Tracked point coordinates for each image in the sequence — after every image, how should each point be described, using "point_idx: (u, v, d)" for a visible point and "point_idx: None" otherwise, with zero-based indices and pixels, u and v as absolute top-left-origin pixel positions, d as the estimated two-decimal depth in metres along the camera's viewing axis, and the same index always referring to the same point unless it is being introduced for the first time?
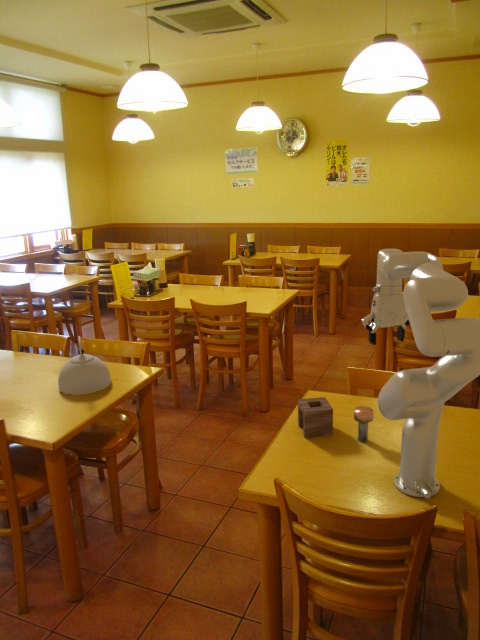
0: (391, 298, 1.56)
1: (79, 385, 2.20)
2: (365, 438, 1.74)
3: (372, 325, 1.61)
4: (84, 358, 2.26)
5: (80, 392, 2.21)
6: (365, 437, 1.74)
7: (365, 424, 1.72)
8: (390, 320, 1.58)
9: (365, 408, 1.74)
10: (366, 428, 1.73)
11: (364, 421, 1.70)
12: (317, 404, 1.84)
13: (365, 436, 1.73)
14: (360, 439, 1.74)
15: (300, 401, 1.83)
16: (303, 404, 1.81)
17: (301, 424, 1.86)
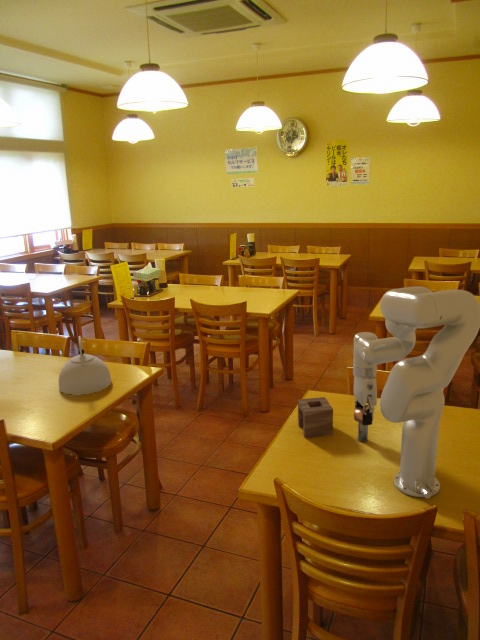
0: None
1: (79, 385, 2.20)
2: (365, 438, 1.74)
3: None
4: (84, 358, 2.26)
5: (80, 392, 2.21)
6: (365, 437, 1.74)
7: None
8: None
9: None
10: (366, 428, 1.73)
11: None
12: (317, 404, 1.84)
13: (365, 436, 1.73)
14: (360, 439, 1.74)
15: (300, 401, 1.83)
16: (303, 404, 1.81)
17: (301, 424, 1.86)
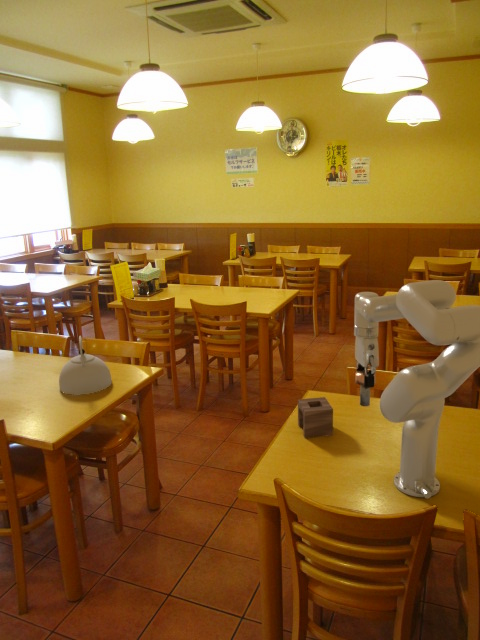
0: None
1: (79, 385, 2.20)
2: (367, 402, 1.70)
3: None
4: (85, 358, 2.26)
5: (81, 392, 2.21)
6: (367, 401, 1.69)
7: None
8: None
9: None
10: (368, 392, 1.69)
11: None
12: (317, 404, 1.84)
13: (367, 400, 1.69)
14: (362, 403, 1.70)
15: (300, 401, 1.83)
16: (303, 404, 1.81)
17: (301, 424, 1.86)
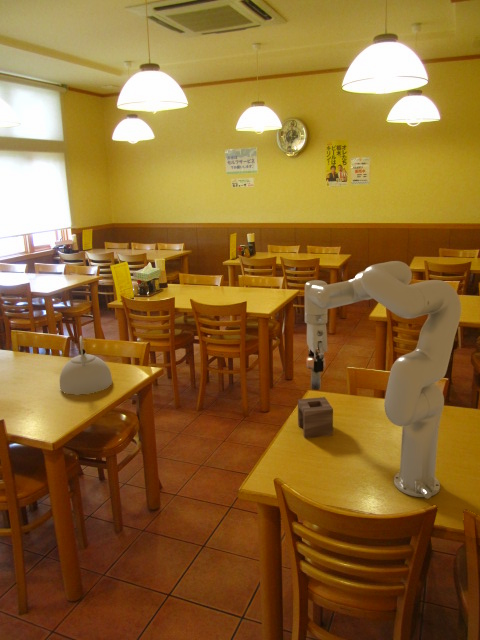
0: None
1: (80, 385, 2.20)
2: (318, 386, 1.77)
3: None
4: (85, 358, 2.26)
5: (81, 392, 2.21)
6: (317, 385, 1.77)
7: (317, 372, 1.76)
8: None
9: None
10: (318, 376, 1.77)
11: None
12: (317, 404, 1.84)
13: (317, 383, 1.77)
14: (313, 387, 1.78)
15: (300, 401, 1.83)
16: (303, 404, 1.81)
17: (301, 424, 1.86)
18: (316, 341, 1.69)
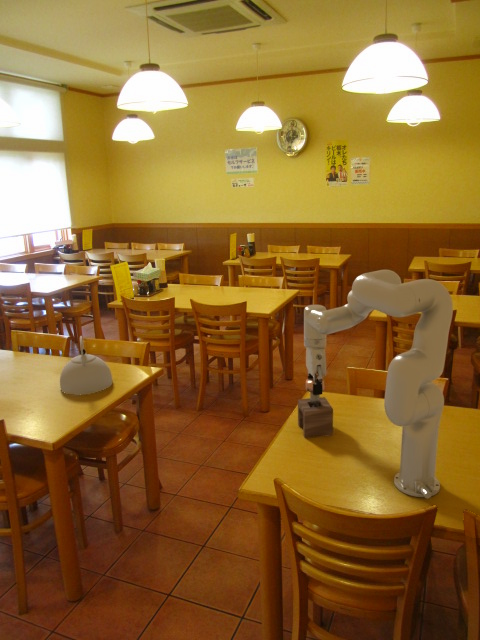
0: None
1: (80, 385, 2.20)
2: None
3: None
4: (86, 358, 2.26)
5: (81, 392, 2.21)
6: None
7: None
8: None
9: None
10: (317, 398, 1.79)
11: None
12: None
13: (316, 406, 1.80)
14: None
15: (300, 401, 1.83)
16: (303, 404, 1.81)
17: (301, 424, 1.86)
18: (315, 365, 1.72)
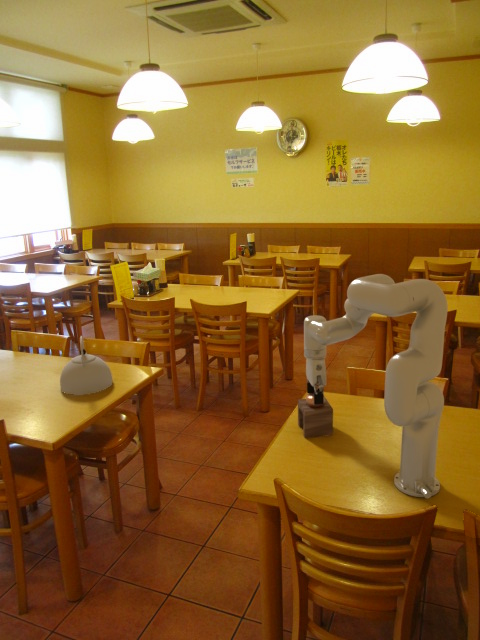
0: None
1: (80, 385, 2.20)
2: None
3: None
4: (86, 358, 2.26)
5: (81, 392, 2.21)
6: None
7: None
8: None
9: None
10: None
11: (315, 406, 1.78)
12: None
13: None
14: None
15: (300, 401, 1.83)
16: (303, 404, 1.81)
17: (301, 424, 1.86)
18: (315, 375, 1.73)
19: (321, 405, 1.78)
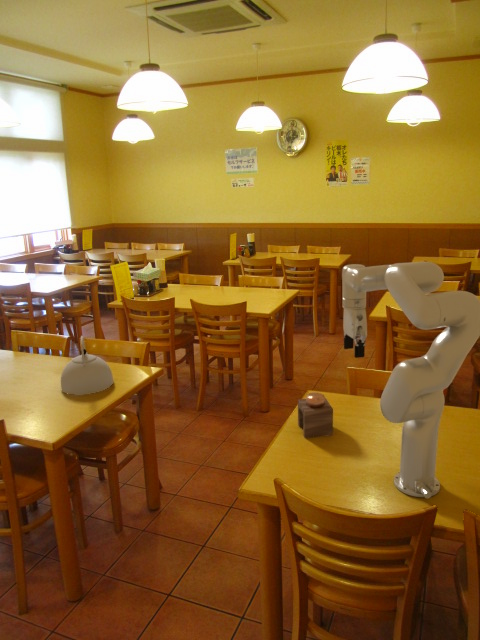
0: None
1: (81, 385, 2.20)
2: None
3: None
4: (86, 358, 2.26)
5: (82, 392, 2.21)
6: None
7: None
8: None
9: (317, 394, 1.81)
10: None
11: (315, 406, 1.78)
12: None
13: None
14: None
15: (300, 401, 1.83)
16: (303, 404, 1.81)
17: (301, 424, 1.86)
18: (356, 326, 1.64)
19: (321, 405, 1.78)
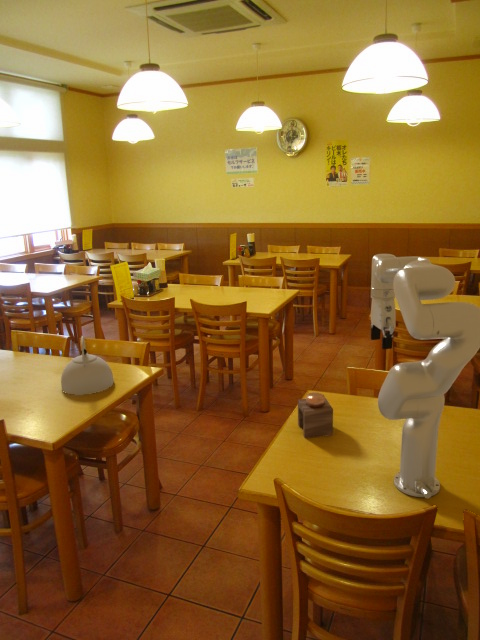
0: None
1: (81, 385, 2.20)
2: None
3: None
4: (87, 358, 2.26)
5: (82, 392, 2.21)
6: None
7: None
8: None
9: (317, 394, 1.81)
10: None
11: (315, 406, 1.78)
12: None
13: None
14: None
15: (300, 401, 1.83)
16: (303, 404, 1.81)
17: (301, 424, 1.86)
18: (384, 317, 1.61)
19: (321, 405, 1.78)
